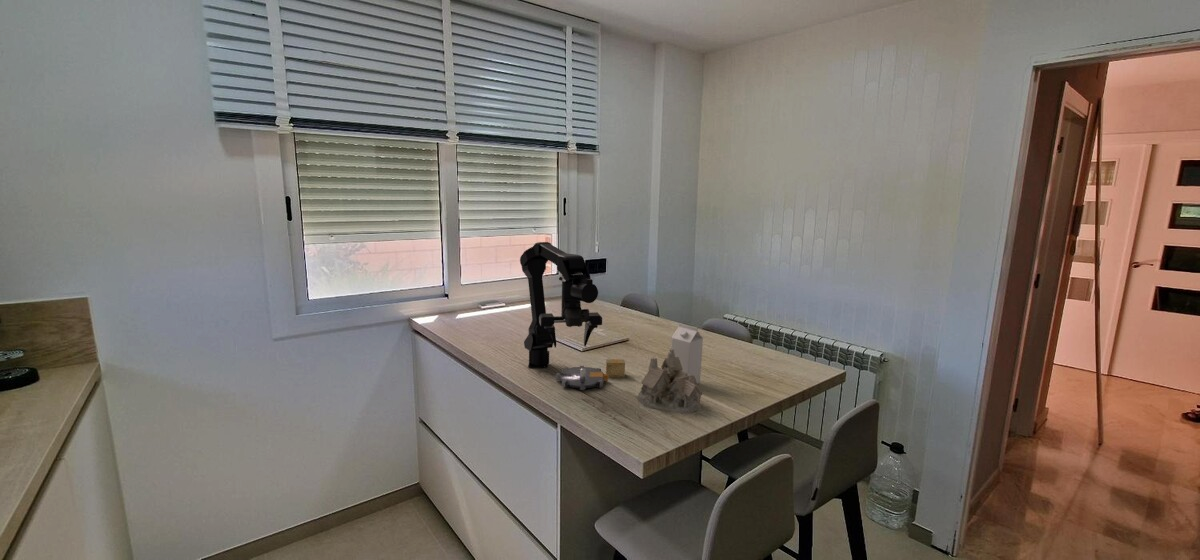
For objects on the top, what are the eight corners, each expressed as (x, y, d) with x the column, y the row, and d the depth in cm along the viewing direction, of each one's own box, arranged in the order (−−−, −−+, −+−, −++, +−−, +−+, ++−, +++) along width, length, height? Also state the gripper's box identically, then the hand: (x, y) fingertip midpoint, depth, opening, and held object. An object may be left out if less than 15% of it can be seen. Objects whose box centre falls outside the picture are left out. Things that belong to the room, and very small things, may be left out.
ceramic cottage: (631, 394, 142) (636, 347, 139) (679, 390, 148) (685, 345, 145) (655, 421, 128) (661, 368, 125) (707, 415, 134) (714, 365, 131)
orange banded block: (606, 377, 156) (606, 362, 155) (605, 373, 160) (606, 359, 159) (624, 377, 157) (625, 363, 156) (623, 373, 160) (624, 359, 159)
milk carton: (682, 377, 158) (685, 321, 155) (700, 383, 153) (704, 326, 150) (668, 382, 153) (672, 325, 150) (687, 388, 148) (690, 329, 145)
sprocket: (555, 389, 143) (555, 371, 142) (557, 370, 159) (557, 353, 158) (609, 390, 144) (610, 371, 143) (606, 371, 160) (606, 354, 159)
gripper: (542, 303, 134) (542, 356, 137) (607, 302, 138) (605, 353, 141) (539, 295, 145) (538, 344, 148) (599, 294, 149) (597, 342, 152)
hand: (570, 346), depth 147 cm, fingers open, 9 cm apart
